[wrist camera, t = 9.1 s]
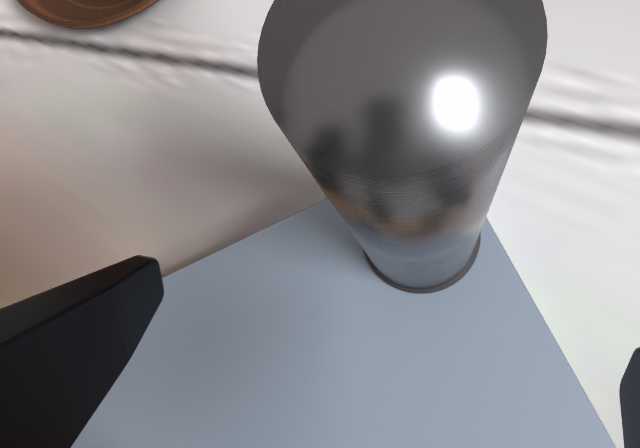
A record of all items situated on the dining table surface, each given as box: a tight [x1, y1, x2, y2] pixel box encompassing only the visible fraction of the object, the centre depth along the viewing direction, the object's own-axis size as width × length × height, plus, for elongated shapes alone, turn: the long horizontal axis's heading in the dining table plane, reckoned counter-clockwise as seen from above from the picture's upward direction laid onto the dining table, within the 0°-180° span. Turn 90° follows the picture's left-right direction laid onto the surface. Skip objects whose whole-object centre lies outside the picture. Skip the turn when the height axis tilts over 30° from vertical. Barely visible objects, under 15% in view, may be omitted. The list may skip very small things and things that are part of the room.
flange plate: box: [71, 198, 616, 448], centre depth 17 cm, size 19×14×6 cm
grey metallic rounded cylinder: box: [257, 0, 547, 289], centre depth 13 cm, size 4×4×12 cm
